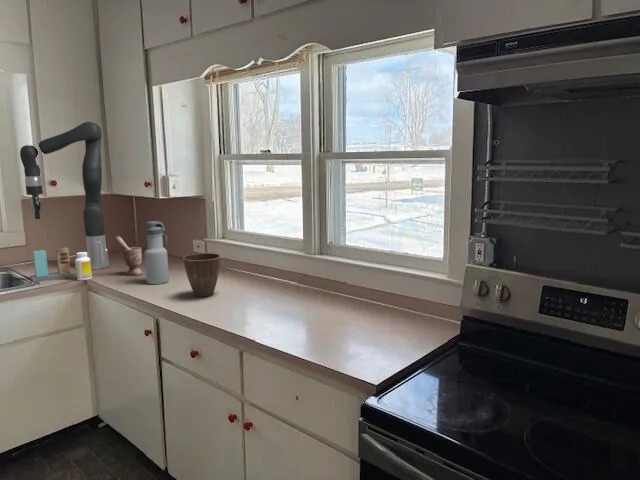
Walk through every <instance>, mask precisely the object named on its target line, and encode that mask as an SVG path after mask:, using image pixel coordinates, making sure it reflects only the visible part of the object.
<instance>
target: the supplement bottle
mask: <svg viewBox="0 0 640 480" xmlns="http://www.w3.org/2000/svg"><path fill="white" fill-rule="evenodd" d="M74 264H75V272H76V280H78V281H88V280H90V279H92V278H93V273H92V269H91V263H90V258H89V257H88V253H87V251H79V252H76V258H75V259H74Z"/></svg>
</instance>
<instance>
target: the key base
mask: <svg viewBox="0 0 640 480" xmlns="http://www.w3.org/2000/svg"><path fill="white" fill-rule="evenodd" d="M75 277H76V278H77V276H76V271H74V270H72V269H71V273H64V274H59V273H58V271H57V272H56V271H55V272H48V276H43V277H36V276H35V274H33V275H29V279H30V280H31V282H32V283H39V281H41V282H46V281H45V280H48V281H54V279H55V280H60V279H68V278H75Z"/></svg>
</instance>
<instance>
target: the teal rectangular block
mask: <svg viewBox="0 0 640 480" xmlns="http://www.w3.org/2000/svg"><path fill="white" fill-rule="evenodd" d="M32 258H33V265H34V275H35V276H36V277H43V276H48V273H49V268H48V260H47V259H48V258H47V251H46V250H45V249H42V250H34V251H32Z"/></svg>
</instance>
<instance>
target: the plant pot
mask: <svg viewBox="0 0 640 480" xmlns="http://www.w3.org/2000/svg"><path fill="white" fill-rule="evenodd" d="M182 260H183V264H184V269H185V273H186V276H187V279H188V280H187V281H188V282H189V285H190V287H191V290H192V292H193V294H194V296H195V297H199V298H204V297H211V296H213V295H214V292H215V289H216V287H217V282H218V277H219V273H220V265H221V254H218V253H212V252H209V253H208V252H206V253H205V252H203V253H202V252H201V253H194V254H188V255H185V256H183V257H182Z"/></svg>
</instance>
